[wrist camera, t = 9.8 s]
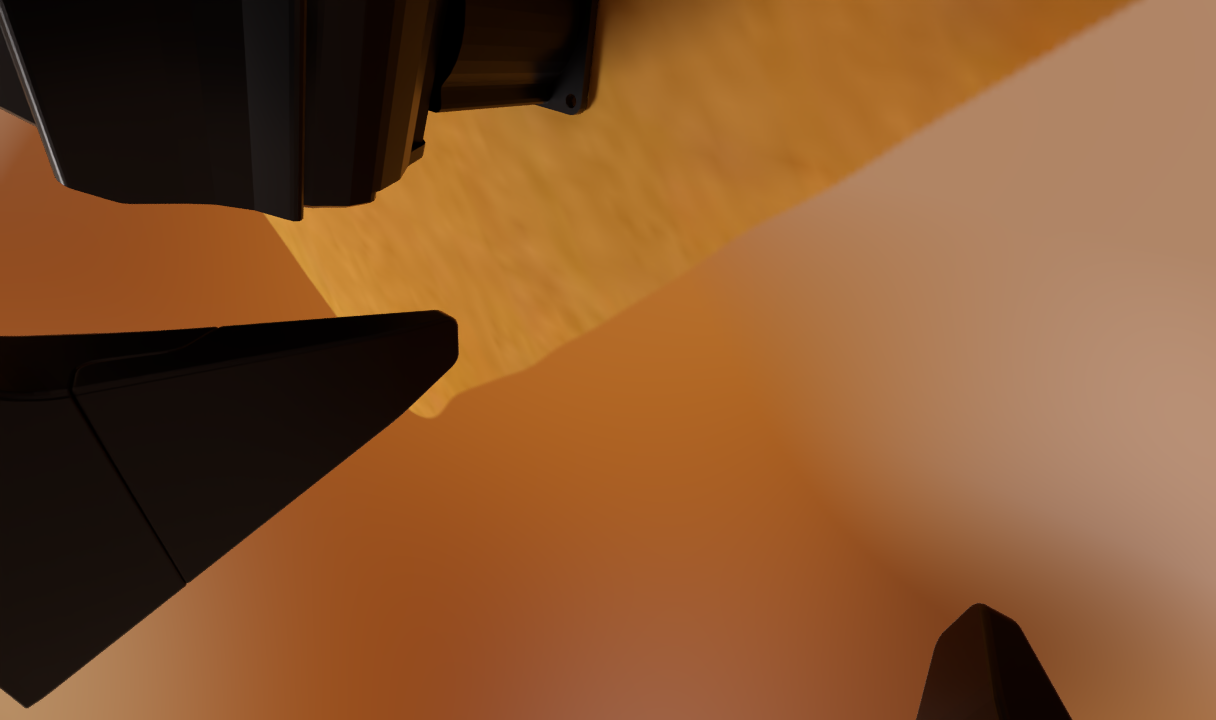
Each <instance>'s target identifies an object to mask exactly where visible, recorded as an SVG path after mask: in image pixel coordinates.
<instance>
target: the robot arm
mask: <svg viewBox="0 0 1216 720" xmlns="http://www.w3.org/2000/svg"><path fill="white" fill-rule="evenodd" d="M597 8H598V0H0V109H2V110H4V111H6V112H8V113H10V114H12V115H14V116H16V117H18V118H20V119H22V120H24V121H26V122H28V123H30V124H32V125H34V126H36V127H37V129H38V132H39V134H40V137H41V140H42V143H43V145H44V148H45V151H46V154H47V156H48V159H49V162H50V165H51V167H52V170H53V173H54V176H55V178H56V179H57V181H59V182H60V183H62V184H63V185H64V186H66V187H68V188H71V189H74V190H78V191H81V192H84V193H88V194H91V195H94V196H98V197H101V198H104V199H108V200H111V201H115V202H119V203H125V204H126V203H127V204H214V205H222V206H229V207H235V208H242V209H249V210H255V211H259V212H262V213H266V214H269V215H273V216H276V217H280V218H283V219H287V220H291V221H301V220H302V219H303V207H308V208H346V207H351V206H357V205H363V204H367V203H370V202H372V201H374V200H375V198H376V192H377V191H381V190H382V189H384V188H386V187H388V186H389V185H391V184H393V183H395V182H396V181H398V180H400V178H401V177H402V175H403V173H404V172H405V170H406V168H407V167H408V166H409V165H410V164H412V163H414V162H415V161H417V160H418V159H420V158H422V156H423V153H424V147H425V141H424V140H423V136H424V131H425V125H426V120H427V115H428V110H429V111H432V112H435V113H437V112H449V111H461V110H473V109H485V108H498V107H510V106H522V105H534V104H535V105H538V106H541V107H545V108H548V109H552V110H555V111H558V112H562V113H565V114H569V115H577V114H581V113H582V112H583V111H584V110H585V109H586V105H587V99H588V90H589V81H590V72H591V62H592V53H593V44H594V35H595V26H596V17H597ZM573 95H574V96H575V98H576V105H575V107H574V106H573V104H572V97H573ZM458 355H459V347H458V324H457V322H456V320H455V319H454V318H453V317H451V316H449V315H448V314H446V313H444V312H442V311H439V310H428V311H415V312H402V313H389V314H376V315H363V316H350V317H337V318H324V319H311V320H299V321H285V322H272V323H259V324H246V325H233V326H222V327H219V328H217V327H206V328H192V329H179V330H163V331H143V332H121V333H93V334H63V335H33V336H0V688H1V689H2V690H3V691H4V692H6V693H7V694H8V695H10V696H11V697H12V698H13V699H14V700H16V701H17V702H18V703H19V704H21V705H22V706H23V707H24V708H29V707H30V706H32V705H33V704H35V703H37V702H38V701H40V700H41V699H42V698H44V697H45V696H47V695H48V694H49V693H50V692H52V691H53V690H54V689H56V688H57V687H58V686H59V685H61V684H62V683H63V682H65V680H67V679H68V678H69V677H71V676H72V675H73V674H75V673H76V672H77V671H78V670H80V669H81V668H82V667H84V666H85V665H86V664H87V663H89V662H90V661H91V660H92V659H94V658H95V657H96V656H97V655H99V654H100V653H101V652H103V651H104V650H105V649H106V648H107V647H109V646H110V645H111V644H113V643H114V642H115V641H116V640H118V639H119V638H120V637H121V636H123V635H124V634H125V633H127V632H128V631H129V630H130V629H132V628H133V627H134V626H135V625H137V624H138V623H139V622H140V621H142V620H143V619H144V618H146V617H147V616H148V615H149V614H151V613H152V612H153V611H154V610H156V609H157V608H158V607H160V606H161V605H162V604H163V603H165V602H166V601H167V600H168V599H170V598H171V597H172V596H173V595H175V594H176V593H177V592H179V591H180V590H181V589H182V588H184V587H185V586H186V584H187V583H189V582H191V581H192V580H193V579H194V578H196V577H197V576H198V575H199V574H201V573H202V572H203V571H205V570H206V569H207V568H208V567H210V566H211V565H212V564H214V563H215V562H216V561H217V560H218V559H220V558H221V557H222V556H224V555H225V554H226V553H227V552H229V551H230V550H231V549H233V548H234V547H235V546H236V545H238V544H239V543H240V542H241V541H243V540H244V539H245V538H246V537H248V536H249V535H250V534H252V533H253V532H254V531H255V530H257V529H258V528H259V527H260V526H262V525H263V524H264V523H266V522H267V521H268V520H269V519H271V518H272V517H273V516H274V515H276V514H277V513H278V512H280V511H281V510H282V509H283V508H285V507H286V506H287V505H288V504H290V503H291V502H292V501H293V500H295V499H296V498H297V497H298V496H300V495H301V494H302V493H304V492H305V491H306V490H307V489H309V488H310V487H311V486H312V485H314V484H315V483H316V482H318V481H319V480H320V479H321V478H323V477H324V476H325V475H326V474H328V473H329V472H330V471H331V470H333V469H334V468H335V467H337V466H338V465H339V464H340V463H342V462H343V461H344V460H345V459H347V458H348V457H349V456H351V455H352V454H353V453H354V452H356V451H357V450H358V449H359V448H361V447H362V446H363V445H364V444H366V443H367V442H368V441H370V440H371V439H372V438H373V437H375V436H376V435H377V434H378V433H380V432H381V431H382V430H384V429H385V428H386V427H387V426H389V425H390V424H391V423H392V422H394V421H395V420H396V419H397V418H398V417H399V416H401V415H402V414H403V413H404V412H405V411H406V410H407V409H408V408H409V407H410V406H411V405H413V404H414V403H415V402H416V401H417V400H418V399H419V398H420V397H421V396H422V395H423V394H424V393H425V392H426V391H427V390H428V389H429V388H430V387H431V386H432V385H433V384H434V383H436V382H437V381H438V380H439V379H440V378H441V377H442V376H443V375H444V374H445V373H446V372H447V371H448V370H449V369H450V368H451V367H452V366H453V365H454V364H455V362H456V361H457V358H458ZM916 720H1072V718H1071V717H1070V715H1069V713H1068V711H1067V710H1066V708H1065V706H1064V705H1063V702H1062V701H1061V699H1060V697H1059V695H1058V694H1057V692H1056V690H1055V688H1054V686H1053V685H1052V683H1051V681H1050V679H1049V677H1048V676H1047V674H1046V672H1045V670H1044V669H1043V667H1042V665H1041V663H1040V661H1039V660H1038V658H1037V656H1036V654H1035V653H1034V651H1033V649H1032V647H1031V645H1030V644H1029V642H1028V640H1027V638H1026V636H1025V635H1024V633H1023V631H1022V630H1021V628H1020V626H1019V625H1018V624H1017V623H1016V622H1015V621H1014V620H1013V619H1011V618H1009V617H1007V616H1005V615H1004V614H1002V613H1000V612H998V611H996V610H994V609H992V608H991V607H989V606H987V605H985V604H981V603H977V604H974V605H972V606H971V607H969V608H968V609H967V610H966V611H965V612H964V613H963V614H962V615H961V616H960V617H959V618H958V619H957V620H956V621H955V622H954V623H952V625H950V626H949V627H948V628H947V629H946V630H945V631H944V632H943V633H942V634H941V636H940V637H939V639H938V641H937V643H936V645H935V648H934V651H933V656H932V659H931V663H930V667H929V671H928V675H927V679H926V683H925V687H924V691H923V695H922V699H921V703H920V706H919V710H918V714H917V718H916Z"/></svg>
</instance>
